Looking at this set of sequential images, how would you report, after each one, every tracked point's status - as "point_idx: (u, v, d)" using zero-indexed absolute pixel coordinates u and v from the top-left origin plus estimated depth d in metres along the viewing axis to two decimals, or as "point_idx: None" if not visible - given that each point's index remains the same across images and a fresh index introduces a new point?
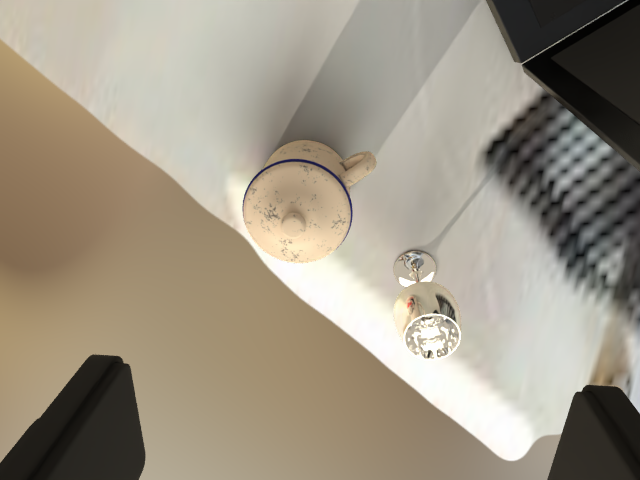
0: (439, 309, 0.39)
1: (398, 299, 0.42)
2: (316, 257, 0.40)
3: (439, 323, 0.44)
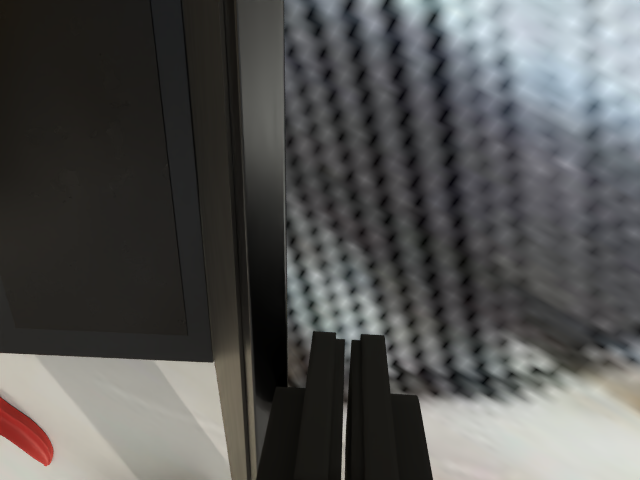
0: None
1: None
2: None
3: None
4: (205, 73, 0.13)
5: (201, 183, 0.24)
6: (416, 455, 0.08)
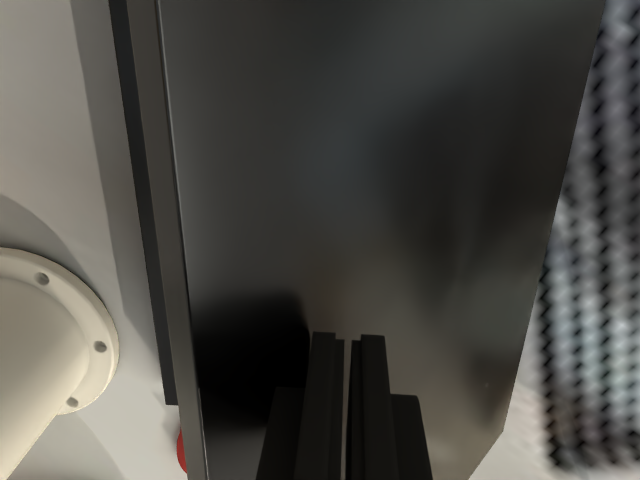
0: None
1: None
2: None
3: None
4: None
5: None
6: (416, 455, 0.08)
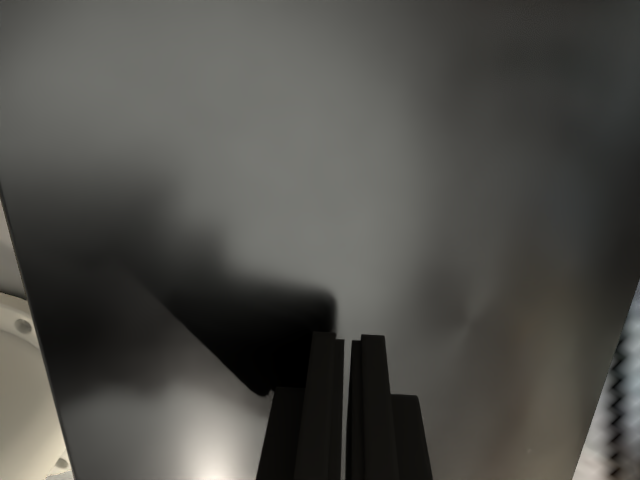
0: None
1: None
2: None
3: None
4: None
5: None
6: (416, 455, 0.08)
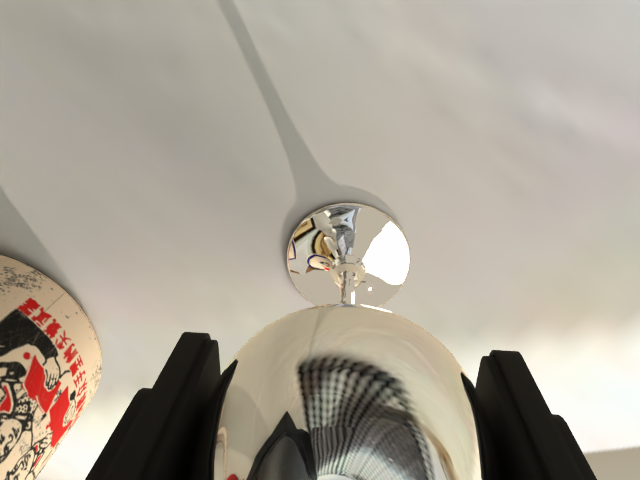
0: None
1: None
2: None
3: None
4: None
5: None
6: None
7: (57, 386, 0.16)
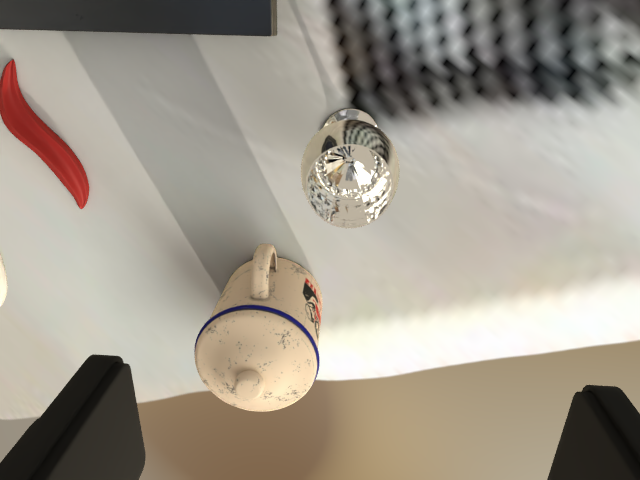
0: (317, 152, 0.25)
1: (307, 189, 0.29)
2: (309, 377, 0.34)
3: None
4: None
5: None
6: None
7: (320, 314, 0.39)
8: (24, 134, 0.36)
